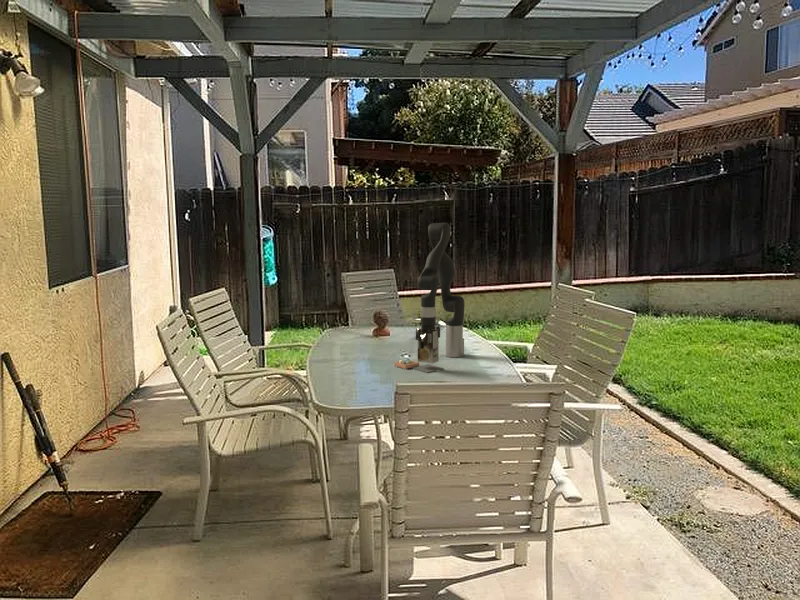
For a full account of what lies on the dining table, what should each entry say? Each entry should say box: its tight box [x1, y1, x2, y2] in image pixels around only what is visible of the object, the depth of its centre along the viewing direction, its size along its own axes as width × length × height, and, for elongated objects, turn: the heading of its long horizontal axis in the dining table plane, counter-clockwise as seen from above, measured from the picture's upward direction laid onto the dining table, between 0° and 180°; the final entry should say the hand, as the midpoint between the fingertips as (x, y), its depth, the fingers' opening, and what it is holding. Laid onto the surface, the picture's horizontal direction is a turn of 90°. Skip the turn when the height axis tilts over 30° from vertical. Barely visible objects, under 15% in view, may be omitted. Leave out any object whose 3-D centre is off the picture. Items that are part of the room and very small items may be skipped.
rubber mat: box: [411, 363, 445, 374], centre depth 346 cm, size 11×12×1 cm
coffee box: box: [417, 330, 440, 364], centre depth 344 cm, size 9×6×16 cm
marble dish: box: [393, 359, 420, 370], centre depth 351 cm, size 9×9×2 cm
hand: (428, 347), depth 345 cm, fingers closed on coffee box, 8 cm apart
